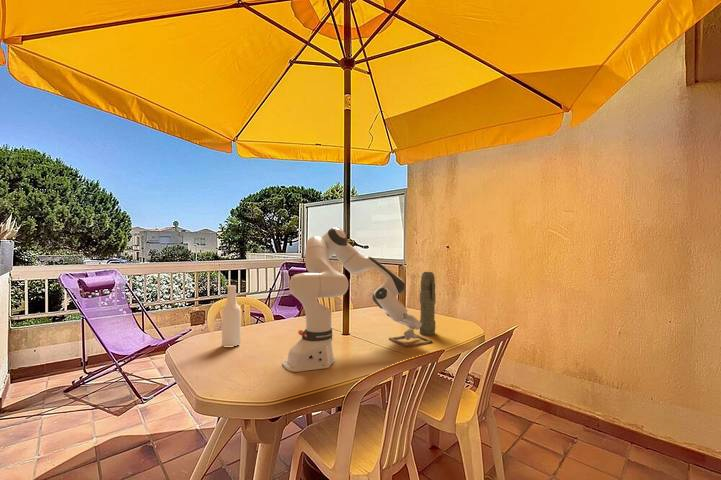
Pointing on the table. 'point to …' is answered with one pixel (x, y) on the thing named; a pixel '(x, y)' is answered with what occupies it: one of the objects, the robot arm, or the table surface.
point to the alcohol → (231, 319)
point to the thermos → (427, 304)
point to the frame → (426, 341)
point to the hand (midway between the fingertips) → (413, 328)
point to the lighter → (410, 334)
